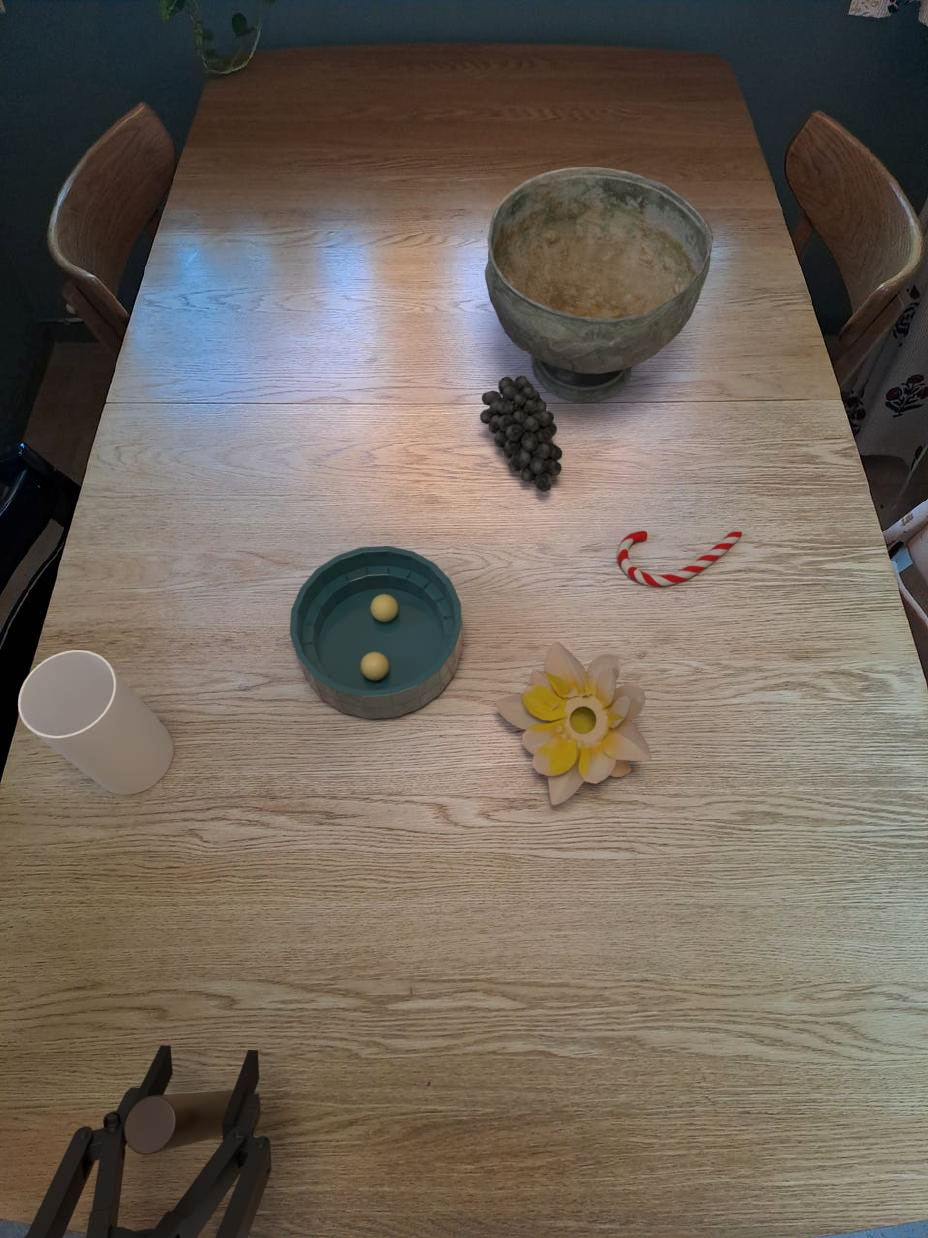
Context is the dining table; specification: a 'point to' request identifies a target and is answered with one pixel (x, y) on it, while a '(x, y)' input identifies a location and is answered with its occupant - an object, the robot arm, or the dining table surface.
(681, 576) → the candy cane
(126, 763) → the cup
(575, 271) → the decorative bowl
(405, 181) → the dining table surface
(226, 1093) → the brown wooden dowel
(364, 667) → the bead
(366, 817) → the dining table surface
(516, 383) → the fruit
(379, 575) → the teal bowl
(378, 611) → the bead
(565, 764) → the decorative flower
